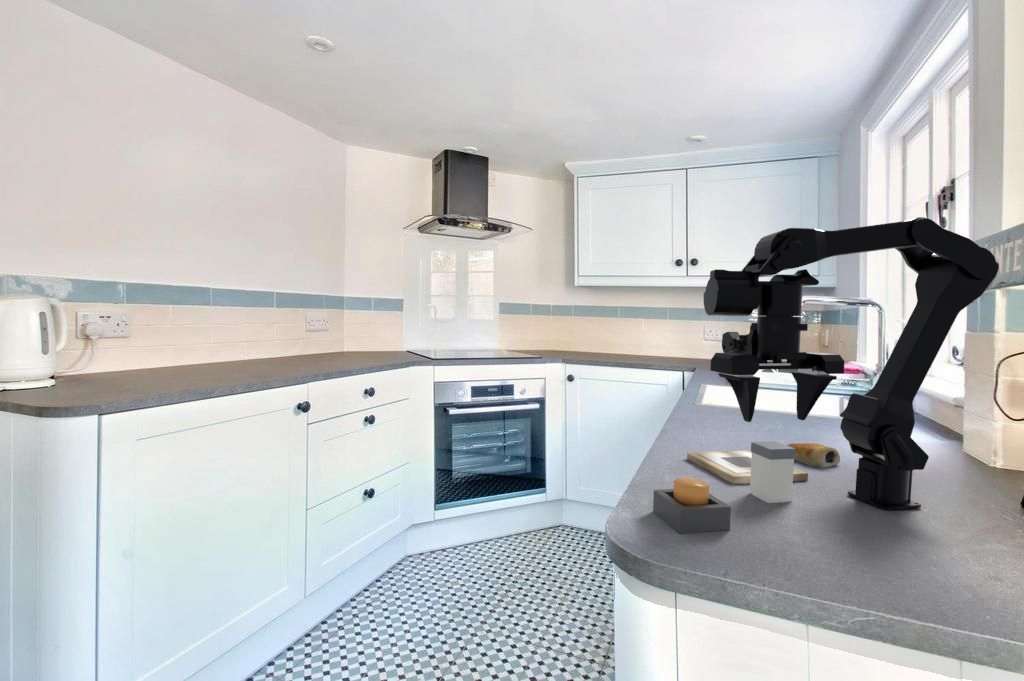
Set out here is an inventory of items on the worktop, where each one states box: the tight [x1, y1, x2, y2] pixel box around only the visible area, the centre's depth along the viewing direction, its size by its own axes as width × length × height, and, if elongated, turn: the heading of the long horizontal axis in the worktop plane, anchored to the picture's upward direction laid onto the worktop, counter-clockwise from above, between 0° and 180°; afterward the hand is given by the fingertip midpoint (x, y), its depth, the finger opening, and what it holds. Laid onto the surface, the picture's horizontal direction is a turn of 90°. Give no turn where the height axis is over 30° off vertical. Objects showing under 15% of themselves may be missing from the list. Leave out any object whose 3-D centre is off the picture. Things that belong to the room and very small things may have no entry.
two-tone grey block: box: [749, 440, 796, 504], centre depth 74 cm, size 4×4×8 cm
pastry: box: [786, 442, 841, 469], centre depth 95 cm, size 9×7×4 cm
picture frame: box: [686, 449, 809, 485], centre depth 88 cm, size 14×14×1 cm
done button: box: [673, 477, 710, 506], centre depth 65 cm, size 4×4×2 cm
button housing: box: [652, 488, 732, 534], centre depth 65 cm, size 7×7×3 cm
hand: (774, 420), depth 74 cm, fingers open, 9 cm apart
